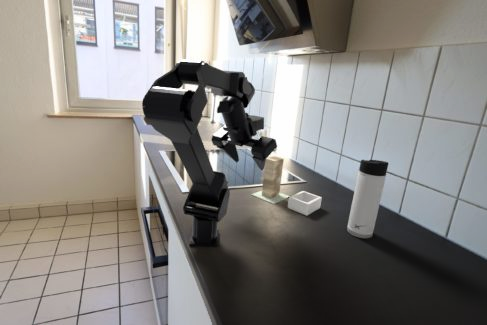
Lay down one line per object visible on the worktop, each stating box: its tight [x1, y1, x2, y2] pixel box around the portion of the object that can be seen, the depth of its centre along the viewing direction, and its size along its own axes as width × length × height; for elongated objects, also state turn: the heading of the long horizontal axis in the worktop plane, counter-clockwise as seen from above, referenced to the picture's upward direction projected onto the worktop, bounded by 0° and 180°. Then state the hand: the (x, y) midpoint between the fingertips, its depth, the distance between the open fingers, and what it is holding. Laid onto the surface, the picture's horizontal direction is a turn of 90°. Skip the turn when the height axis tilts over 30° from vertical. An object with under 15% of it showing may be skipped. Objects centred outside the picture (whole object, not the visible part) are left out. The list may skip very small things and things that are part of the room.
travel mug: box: [346, 159, 389, 239], centre depth 72 cm, size 6×7×20 cm
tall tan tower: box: [261, 155, 285, 199], centre depth 92 cm, size 5×4×12 cm
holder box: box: [287, 190, 323, 216], centre depth 87 cm, size 8×7×4 cm
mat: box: [250, 190, 291, 205], centre depth 94 cm, size 9×9×1 cm
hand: (249, 165), depth 82 cm, fingers open, 9 cm apart
